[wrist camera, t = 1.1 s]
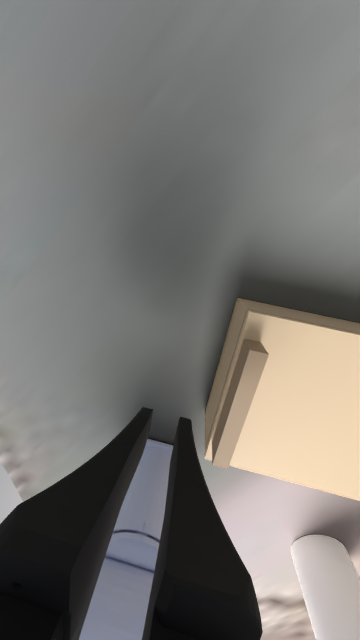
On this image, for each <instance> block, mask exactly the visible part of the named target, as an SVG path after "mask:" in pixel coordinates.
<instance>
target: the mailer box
mask: <svg viewBox="0 0 360 640" xmlns="http://www.w3.org/2000/svg"><path fill="white" fill-rule="evenodd" d="M247 310H251V311H256V312H261V313H265V314H270V315H275V316H279V317H284V318H289V319H294V320H298V321H303V322H308V323H312V324H317V325H322V326H326V327H331V328H336V329H341V330H345V331H350V332H355V333H359V334H360V323H356V322H351V321H346V320H341V319H337V318H332V317H327V316H322V315H318V314H313V313H308V312H303V311H298V310H294V309H289V308H284V307H279V306H274V305H270V304H265V303H260V302H255V301H251V300H246V299H241V298H237V300H236V303H235V307H234V310H233V314H232V318H231V321H230V325H229V328H228V332H227V335H226V339H225V343H224V346H223V350H222V353H221V357H220V361H219V364H218V368H217V371H216V375H215V378H214V382H213V386H212V389H211V393H210V396H209V400H208V404H207V407H206V411H205V450H206V446H207V443H208V440H209V436H210V433H211V430H212V426H213V423H214V420H215V416H216V413H217V410H218V406H219V403H220V400H221V397H222V393H223V390H224V387H225V383H226V380H227V377H228V373H229V370H230V367H231V363H232V360H233V357H234V353H235V350H236V347H237V343H238V340H239V337H240V333H241V330H242V327H243V323H244V320H245V317H246V314H247Z"/></svg>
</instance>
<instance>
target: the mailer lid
mask: <svg viewBox="0 0 360 640" xmlns="http://www.w3.org/2000/svg"><path fill="white" fill-rule="evenodd" d="M204 459H207V460H211V461H212V465H214V466H218V467H222V468H225V469H228V467H229V466H233V467H236V468H240V469H244V470H247V471H251V472H255V473H258V474H262V475H266V476H270V477H273V478H277V479H281V480H284V481H288V482H292V483H295V484H299V485H303V486H306V487H310V488H314V489H317V490H321V491H325V492H328V493H332V494H336V495H340V496H343V497H347V498H351V499H354V500H358V501H360V334H359V333H355V332H350V331H345V330H341V329H336V328H331V327H326V326H322V325H317V324H312V323H308V322H303V321H298V320H294V319H289V318H284V317H279V316H275V315H270V314H265V313H261V312H256V311H251V310H247V314H246V317H245V320H244V323H243V327H242V330H241V333H240V337H239V340H238V343H237V347H236V350H235V353H234V357H233V360H232V363H231V367H230V370H229V373H228V377H227V380H226V383H225V387H224V390H223V393H222V397H221V400H220V403H219V406H218V410H217V413H216V416H215V420H214V423H213V426H212V430H211V433H210V436H209V440H208V443H207V446H206V450H205V457H204Z"/></svg>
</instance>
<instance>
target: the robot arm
mask: <svg viewBox="0 0 360 640" xmlns="http://www.w3.org/2000/svg"><path fill="white" fill-rule="evenodd" d="M152 413H153V410H152V409H149V408H145V407H143V408H141V410H140V411H139V412H138V414H137V415H136V416H135V417H134V418H133V420H132V421H131V422H130V423H129V424H128V425H127V426H126V427H125V428H124V429H123V430H122V431H121V432H120V433H119V434H118V435H117V436H116V437H115V438H114V439H113V440H112V441H111V442H110V443H109V444H108V445H107V446H106V447H104V448H103V449H102V450H101V451H100V452H99V453H97V454H96V455H95V456H94V457H92V458H91V459H90V460H89V461H87V462H86V463H85V464H83V465H82V466H81V467H79V468H78V469H76V470H75V471H74V472H72V473H71V474H69V475H68V476H66V477H64V478H63V479H61V480H60V481H58V482H57V483H55V484H54V485H52V486H50V487H49V488H47V489H46V490H44V491H42V492H40V493H38V494H37V495H35V496H33V497H31V498H30V499H28V500H26V501H24V502H22V503H21V504H19V505H18V506H17V507H16V508H15V509H14V510H13V511H12V512H11V513H10V514H9V515H8V516H7V518H5V520H4V521H3V522H2V523H1V524H0V640H260V638H261V635H262V625H261V617H260V612H259V607H258V602H257V598H256V594H255V590H254V586H253V583H252V579H251V576H250V574H249V573H248V571H247V569H246V567H245V565H244V564H243V562H242V560H241V558H240V556H239V555H238V553H237V551H236V549H235V547H234V545H233V543H232V541H231V539H230V537H229V535H228V533H227V531H226V529H225V527H224V525H223V523H222V521H221V518H220V516H219V514H218V512H217V510H216V507H215V505H214V503H213V500H212V498H211V495H210V493H209V490H208V487H207V485H206V482H205V479H204V476H203V473H202V470H201V466H200V463H199V459H198V456H197V452H196V448H195V443H194V438H193V432H192V424H191V420H190V419H187V418H183V417H180V419H179V423H178V427H177V432H176V436H175V440H174V445H169V444H165V443H162V442H158V441H154V440H150V439H148V435H149V430H150V424H151V419H152Z"/></svg>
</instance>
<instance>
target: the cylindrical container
mask: <svg viewBox="0 0 360 640" xmlns="http://www.w3.org/2000/svg"><path fill="white" fill-rule="evenodd" d="M291 555H292V559H293V562H294V566H295V569H296V572H297V576H298V579H299V583H300V586H301V590H302V593H303V597H304V600H305V604H306V607H307V611H308V614H309V617H310V621H311V624H312V628H313V631H314V635H315V638H316V640H360V577H359V575H358V572H357V570H356V568H355V566H354V564H353V562H352V560H351V558H350V556H349V554H348V552H347V550H346V548H345V546H344V545H343V544H342V543H341V542H339V541H338V540H336V539H334V538H332V537H329V536H325V535H307V536H303V537H301V538H299V539H297V540H296V541H294V542H293V544H292V545H291Z"/></svg>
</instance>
